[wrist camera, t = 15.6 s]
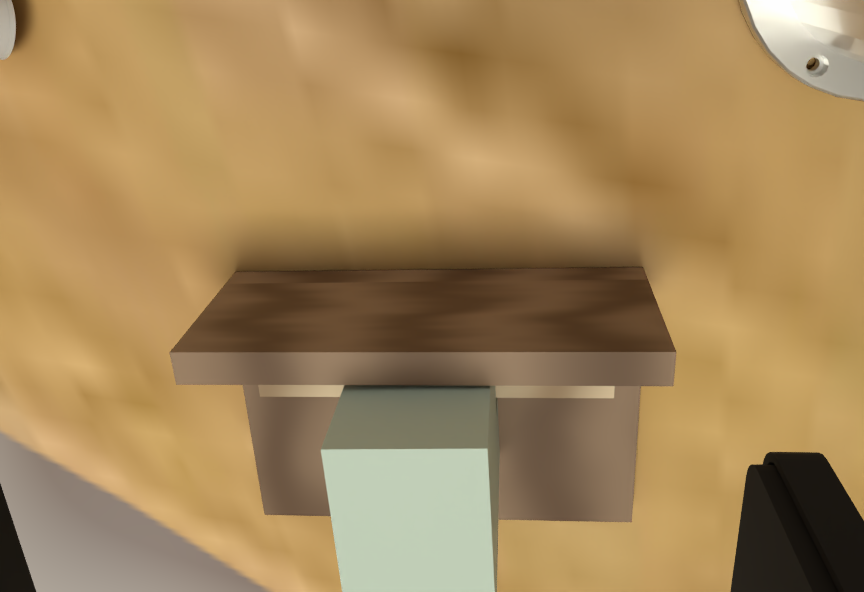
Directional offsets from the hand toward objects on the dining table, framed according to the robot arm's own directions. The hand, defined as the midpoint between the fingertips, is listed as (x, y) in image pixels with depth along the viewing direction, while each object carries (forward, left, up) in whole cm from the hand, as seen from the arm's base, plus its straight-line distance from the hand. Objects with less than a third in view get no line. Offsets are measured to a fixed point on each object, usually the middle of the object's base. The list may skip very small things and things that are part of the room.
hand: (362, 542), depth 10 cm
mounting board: (+2, +15, -28) cm, 32 cm away
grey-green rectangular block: (+2, +14, -27) cm, 30 cm away
